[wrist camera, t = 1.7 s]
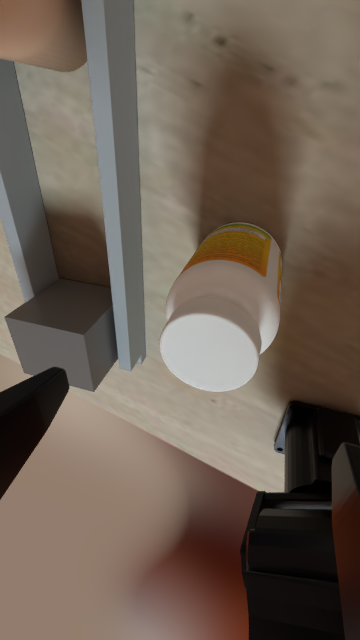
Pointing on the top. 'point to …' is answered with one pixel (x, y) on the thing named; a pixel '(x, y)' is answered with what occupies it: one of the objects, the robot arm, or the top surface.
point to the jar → (43, 33)
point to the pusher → (67, 332)
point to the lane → (114, 170)
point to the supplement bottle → (224, 308)
